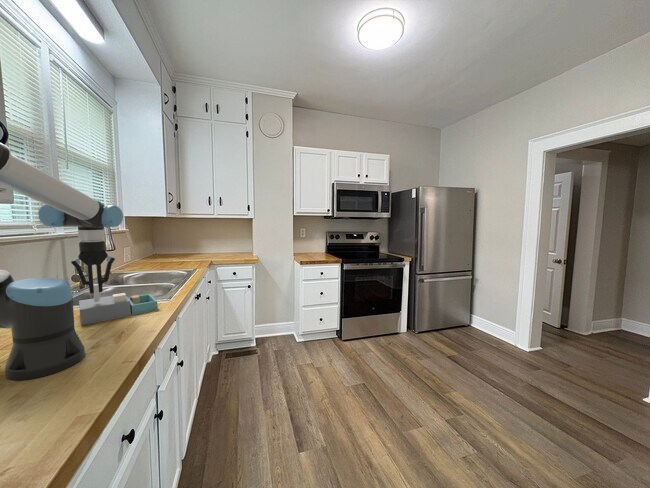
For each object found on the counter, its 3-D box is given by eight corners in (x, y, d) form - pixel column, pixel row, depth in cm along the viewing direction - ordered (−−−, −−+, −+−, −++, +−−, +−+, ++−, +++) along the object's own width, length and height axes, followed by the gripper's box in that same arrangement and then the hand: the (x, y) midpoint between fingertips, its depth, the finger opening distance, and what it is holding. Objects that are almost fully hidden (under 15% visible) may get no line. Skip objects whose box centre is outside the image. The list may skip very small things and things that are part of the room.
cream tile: (113, 302, 106) (113, 296, 105) (112, 300, 109) (112, 294, 108) (126, 300, 108) (125, 294, 108) (124, 298, 111) (124, 292, 111)
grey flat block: (81, 325, 98) (80, 309, 98) (80, 314, 108) (78, 300, 108) (130, 315, 109) (129, 301, 108) (125, 306, 119) (124, 293, 118)
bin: (132, 315, 109) (131, 305, 109) (126, 306, 119) (126, 297, 119) (157, 309, 115) (157, 301, 115) (150, 302, 125) (149, 293, 125)
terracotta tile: (132, 298, 116) (139, 296, 118) (131, 296, 119) (138, 294, 120) (133, 306, 116) (140, 305, 118) (131, 304, 119) (138, 303, 121)
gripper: (112, 239, 108) (116, 295, 111) (68, 241, 99) (73, 302, 102) (115, 240, 103) (119, 299, 105) (68, 242, 94) (74, 307, 96)
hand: (96, 300), depth 104 cm, fingers closed
